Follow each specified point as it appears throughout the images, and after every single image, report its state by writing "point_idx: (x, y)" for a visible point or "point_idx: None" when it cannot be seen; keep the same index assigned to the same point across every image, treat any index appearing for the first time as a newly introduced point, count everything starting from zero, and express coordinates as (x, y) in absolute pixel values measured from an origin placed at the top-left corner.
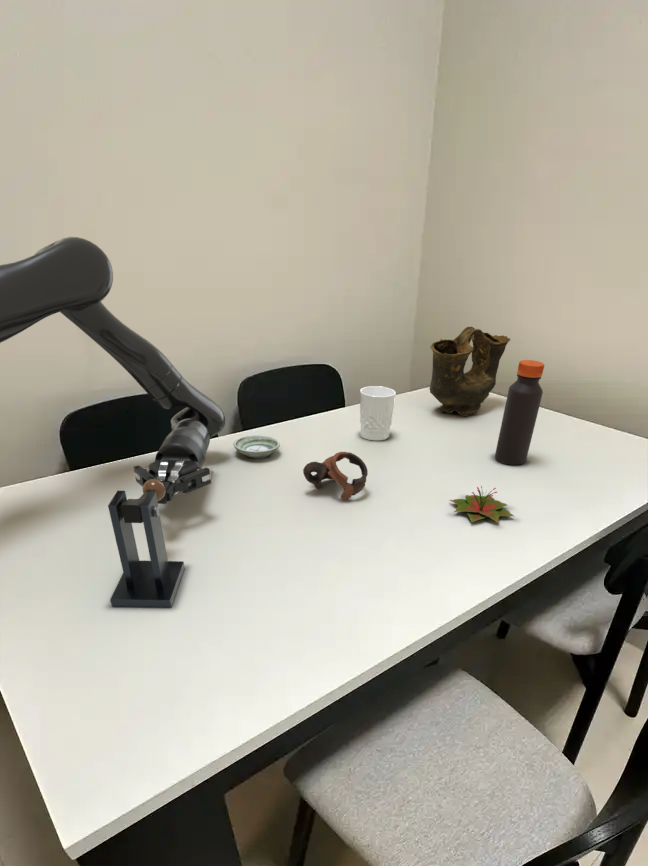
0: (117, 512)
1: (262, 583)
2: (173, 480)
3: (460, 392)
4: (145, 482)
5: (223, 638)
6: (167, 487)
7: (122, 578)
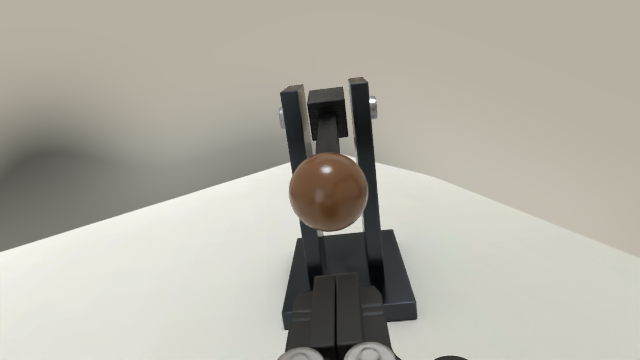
0: (349, 93)
1: (127, 308)
2: (285, 355)
3: None
4: (351, 160)
5: (227, 228)
6: (312, 307)
7: (398, 259)
